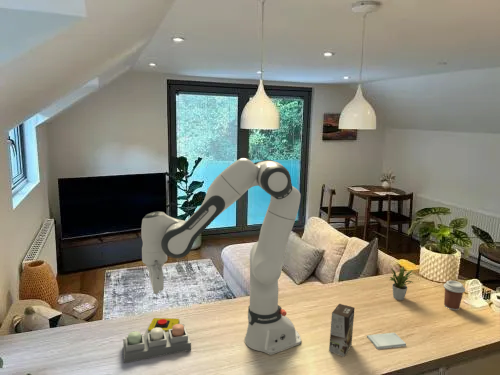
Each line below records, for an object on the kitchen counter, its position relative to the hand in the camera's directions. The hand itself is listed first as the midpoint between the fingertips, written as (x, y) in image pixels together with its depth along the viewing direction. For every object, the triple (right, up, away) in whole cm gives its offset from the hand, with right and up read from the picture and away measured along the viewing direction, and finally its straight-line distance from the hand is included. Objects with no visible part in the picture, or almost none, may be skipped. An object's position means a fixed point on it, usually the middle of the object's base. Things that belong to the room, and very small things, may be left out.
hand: (155, 291), depth 135 cm
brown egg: (+7, -18, +6) cm, 20 cm away
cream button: (0, -18, +3) cm, 19 cm away
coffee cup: (+132, -19, +41) cm, 139 cm away
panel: (-1, -23, +4) cm, 23 cm away
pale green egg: (-8, -19, +1) cm, 20 cm away
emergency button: (0, -21, +17) cm, 27 cm away
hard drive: (+89, -24, +12) cm, 93 cm away
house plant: (+110, -17, +48) cm, 121 cm away
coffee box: (+70, -24, +7) cm, 74 cm away
